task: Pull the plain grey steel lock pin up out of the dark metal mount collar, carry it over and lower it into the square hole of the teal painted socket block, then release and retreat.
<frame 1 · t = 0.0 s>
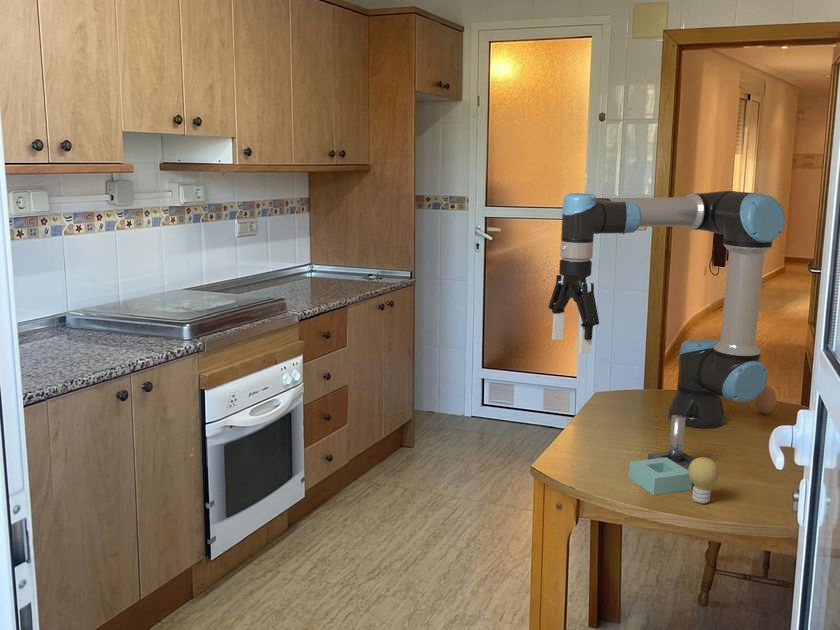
hand: (570, 345, 204), 28 cm above the table, fingers open, 13 cm apart
egg: (764, 414, 244), on the table
socket: (659, 483, 192), on the table
pin: (676, 442, 200), in the mount
mount: (674, 468, 202), on the table
light bulb: (700, 502, 183), on the table
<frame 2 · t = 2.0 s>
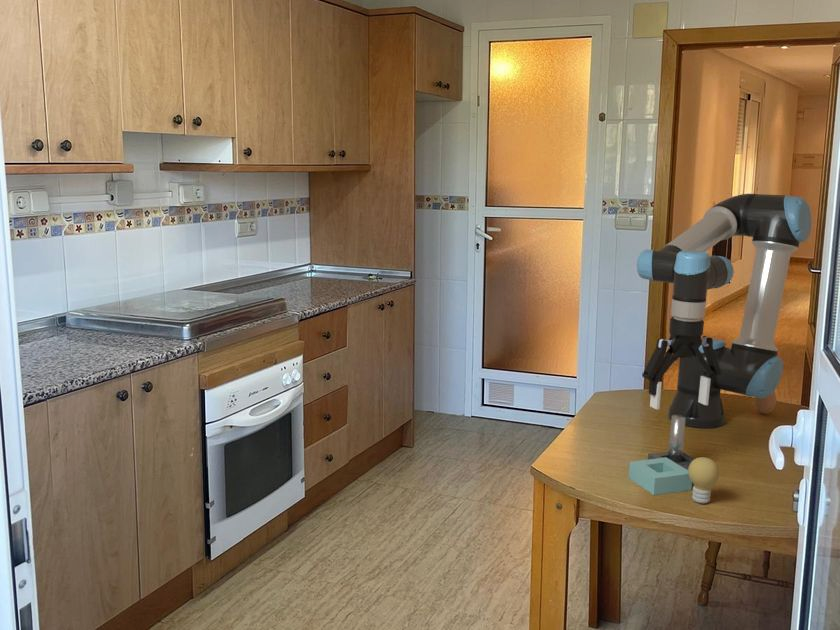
hand: (679, 405, 198), 16 cm above the table, fingers open, 13 cm apart
nothing on the table moved.
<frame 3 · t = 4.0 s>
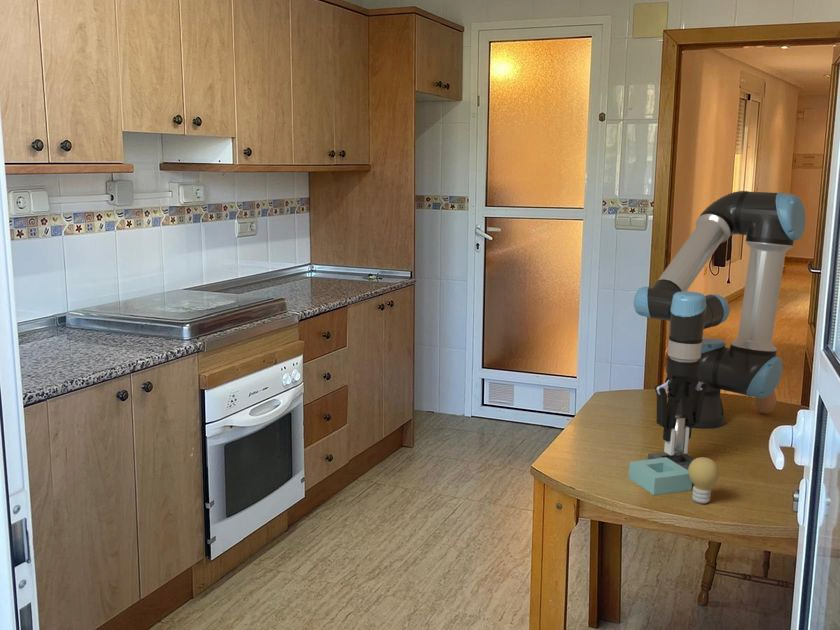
hand: (675, 452, 201), 4 cm above the table, fingers closed on pin, 3 cm apart
pin: (676, 442, 200), in the mount, touching gripper
everything else where it was.
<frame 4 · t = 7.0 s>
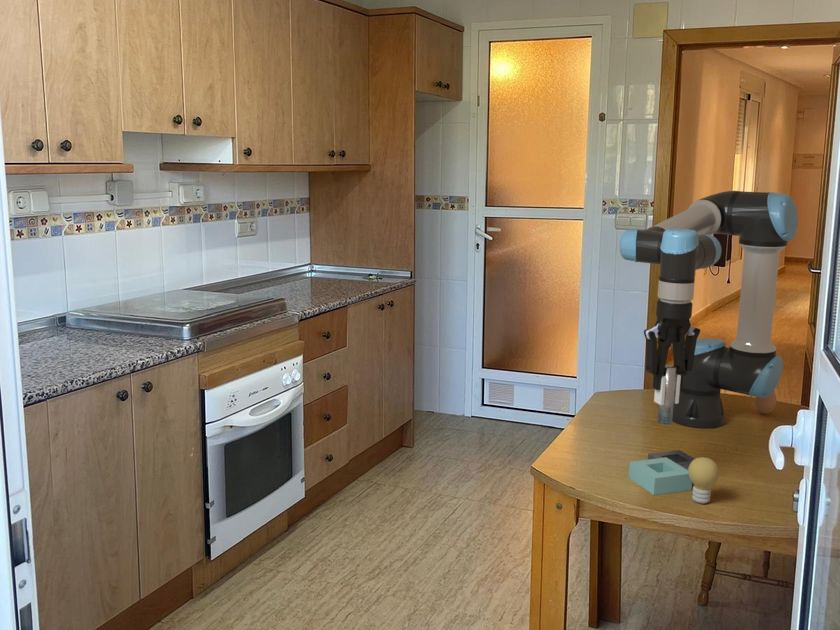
hand: (666, 402, 188), 20 cm above the table, fingers closed on pin, 3 cm apart
pin: (666, 394, 188), point 21 cm above the table, touching gripper
everything else where it was.
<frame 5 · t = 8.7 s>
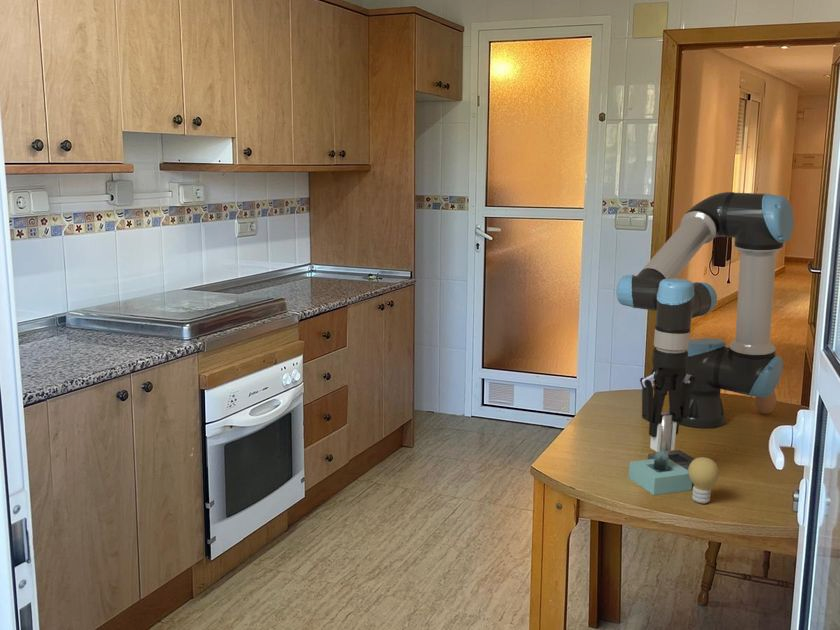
hand: (662, 448, 191), 9 cm above the table, fingers closed on pin, 3 cm apart
pin: (662, 441, 190), point 10 cm above the table, touching gripper
everything else where it was.
when the fingers open (6 cm above the table, at t = 10.3 s): pin stays where it is, resting in socket.
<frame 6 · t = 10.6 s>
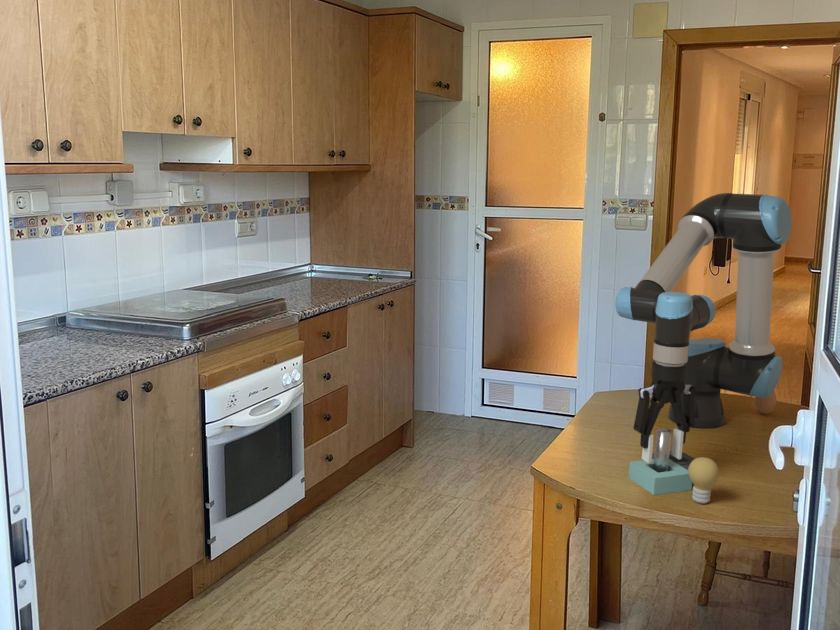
hand: (661, 458, 191), 6 cm above the table, fingers open, 7 cm apart
pin: (661, 457, 191), in the socket
everything else where it was.
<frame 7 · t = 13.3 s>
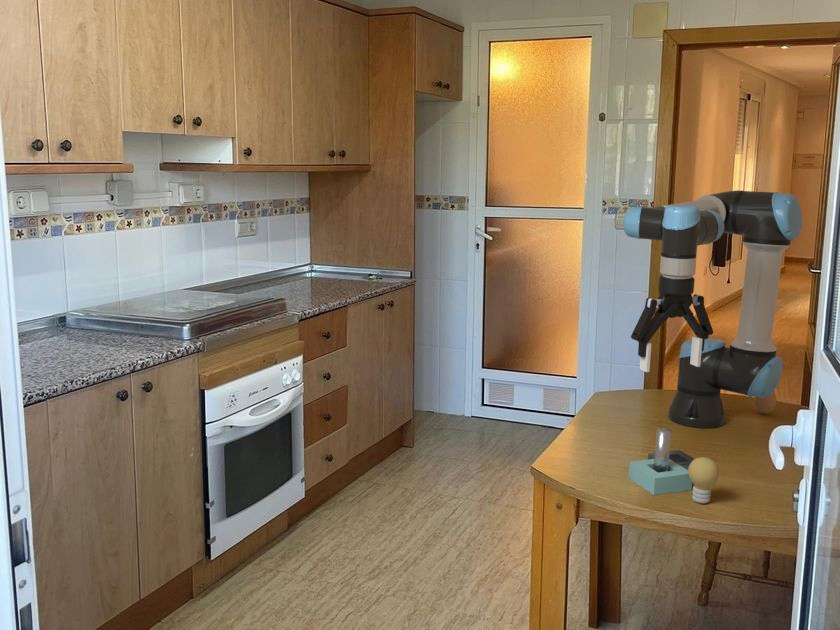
hand: (670, 368, 190), 27 cm above the table, fingers open, 13 cm apart
nothing on the table moved.
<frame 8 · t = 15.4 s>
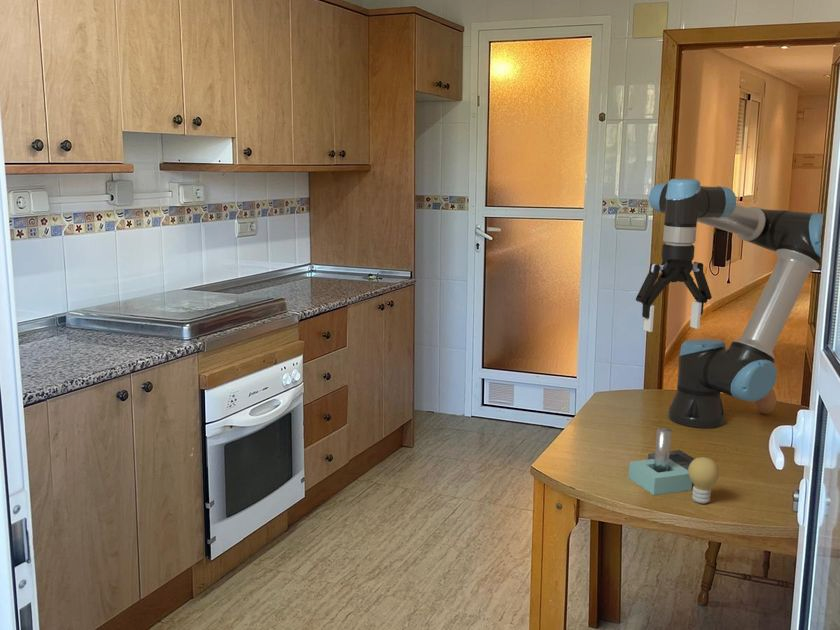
hand: (671, 329, 207), 32 cm above the table, fingers open, 13 cm apart
nothing on the table moved.
at the end: pin 0.0 cm off-centre on the socket, point 6.5 cm above the socket's base; pin tilted 0°; the gripper is holding nothing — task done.
